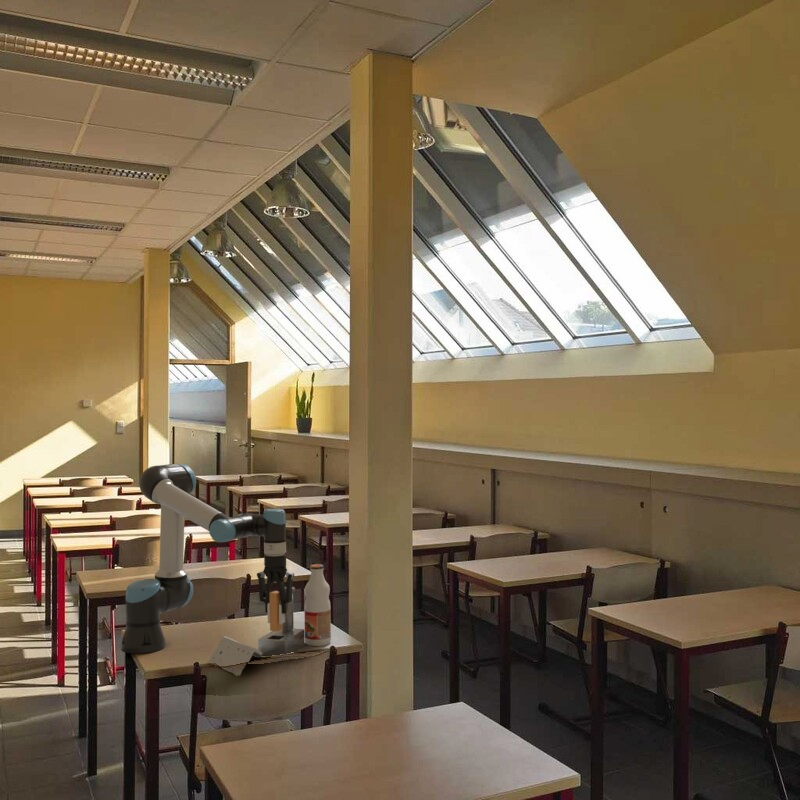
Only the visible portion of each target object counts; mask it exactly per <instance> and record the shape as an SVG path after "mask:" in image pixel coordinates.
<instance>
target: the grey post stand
mask: <svg viewBox="0 0 800 800" xmlns="http://www.w3.org/2000/svg"><path fill="white" fill-rule="evenodd" d="M284 587H285V592H286V586H284ZM295 591H296V587H295V586H292V601H291V602H289V603H287V612H286V613H285V622H284V623H282V628H283V630H280V631H277V632H276V631H270V632H269V633H266V634H265V635H263V636H261V637H260V638H258V640H257V643H258V644H257V647H258V648H257V650H259V651H260V652H262V655H261V656H272V655H280V654H287V653H291V652H295V653H297V652H298V651H299V650H301V649H303V648H304V647H305V645H306V643H305V628H294V627H295V626H294V592H295Z"/></svg>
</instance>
